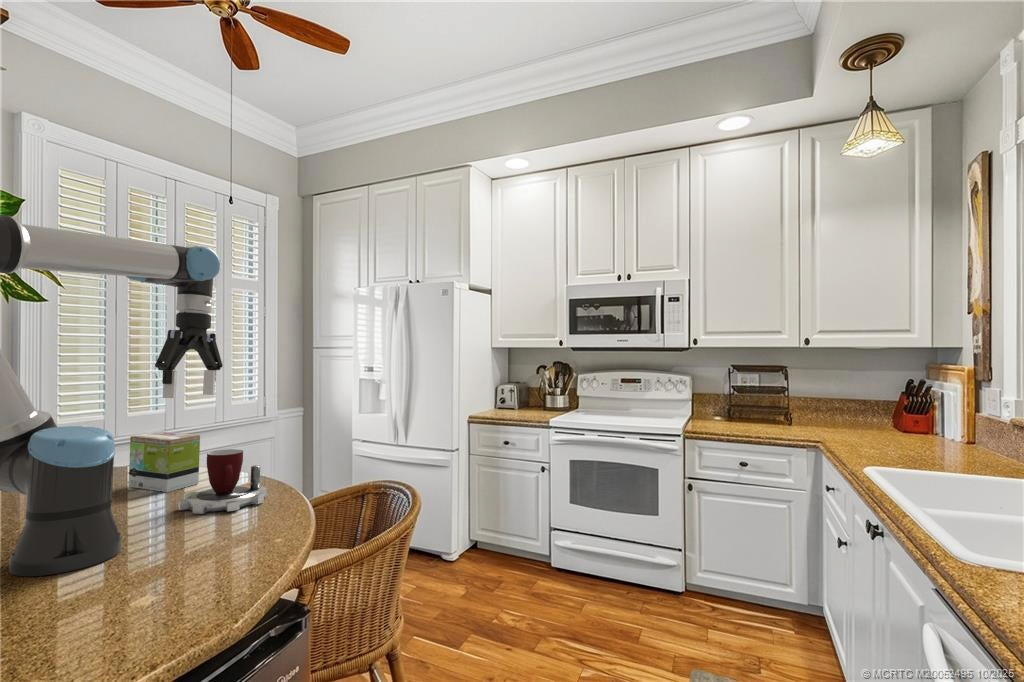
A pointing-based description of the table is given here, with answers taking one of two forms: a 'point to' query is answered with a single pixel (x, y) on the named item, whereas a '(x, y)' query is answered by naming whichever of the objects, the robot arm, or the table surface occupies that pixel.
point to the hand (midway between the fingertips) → (190, 396)
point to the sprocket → (226, 497)
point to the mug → (224, 469)
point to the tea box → (164, 461)
